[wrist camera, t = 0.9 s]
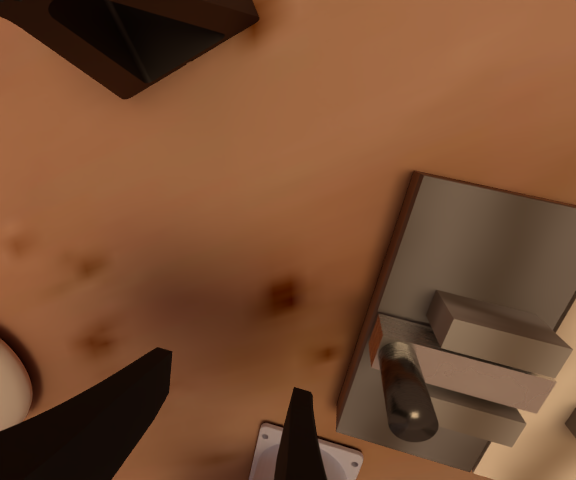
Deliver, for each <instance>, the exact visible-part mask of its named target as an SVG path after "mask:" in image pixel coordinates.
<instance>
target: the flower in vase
mask: <svg viewBox="0 0 576 480" xmlns="http://www.w3.org/2000/svg"><path fill="white" fill-rule="evenodd" d="M32 396H33V392H32V385H31V381H30V378H29V375H28V373H27V371H26V369H25V367H24V365H23V364H22V362H21V361H20V359H19V358H18V356H17V355H16V354H15V352H14V351H13V350H12V349H11V348H10V347H9V346H8V345H7V344H6V343H5V342H4V341H3V340H2V339H0V431H2V430H4V429H7V428H9V427H11V426H14V425H16V424H19V423H21V422H22V421H23V420H24V419H25V418H26V416H27V414H28V411H29V409H30V406H31V403H32Z"/></svg>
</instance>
